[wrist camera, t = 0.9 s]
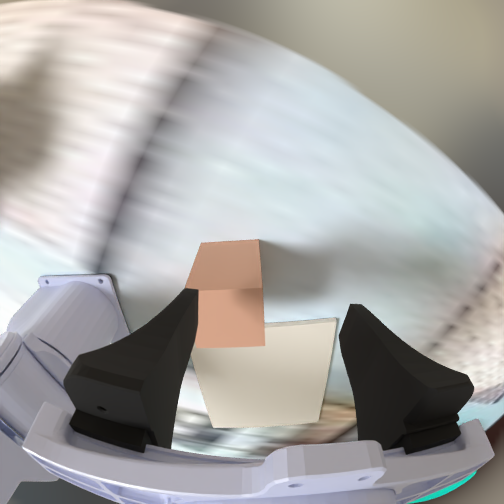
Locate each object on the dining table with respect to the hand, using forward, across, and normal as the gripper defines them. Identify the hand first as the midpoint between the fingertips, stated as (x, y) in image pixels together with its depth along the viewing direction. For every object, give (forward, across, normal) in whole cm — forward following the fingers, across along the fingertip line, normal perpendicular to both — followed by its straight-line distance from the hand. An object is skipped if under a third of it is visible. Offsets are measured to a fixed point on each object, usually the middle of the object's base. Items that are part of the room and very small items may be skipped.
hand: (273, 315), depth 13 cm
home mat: (+10, -2, +18) cm, 20 cm away
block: (+10, +2, +3) cm, 11 cm away
